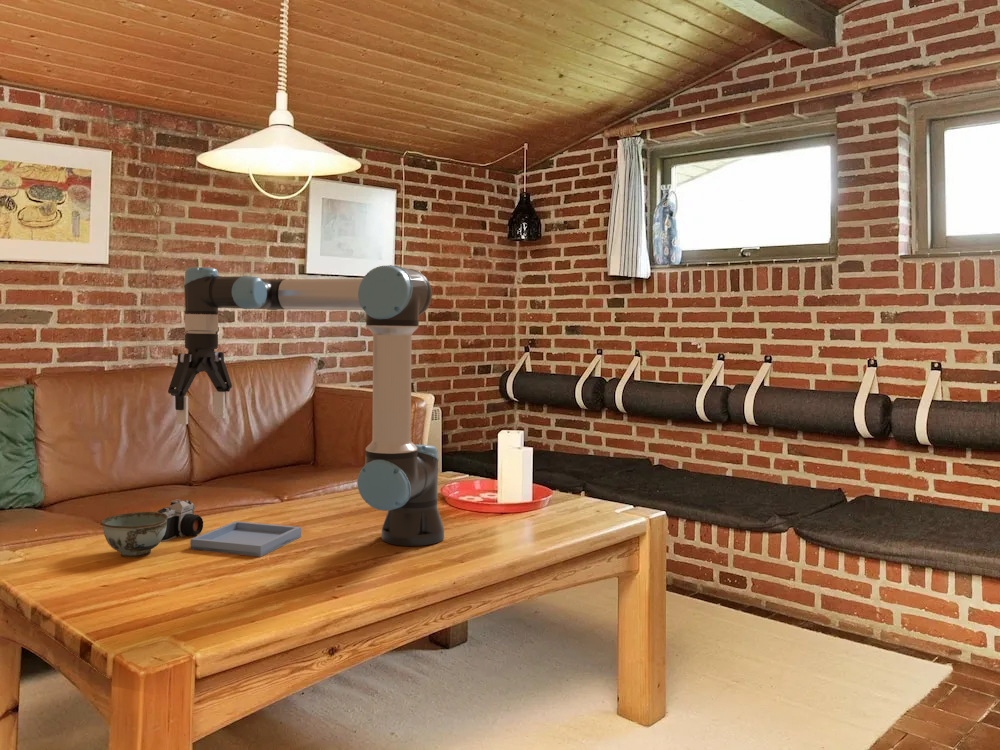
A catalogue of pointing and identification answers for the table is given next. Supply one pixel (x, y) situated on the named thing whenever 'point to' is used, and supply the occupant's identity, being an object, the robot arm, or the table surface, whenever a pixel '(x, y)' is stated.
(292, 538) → the tray
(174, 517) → the camera
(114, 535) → the bowl
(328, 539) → the table surface
